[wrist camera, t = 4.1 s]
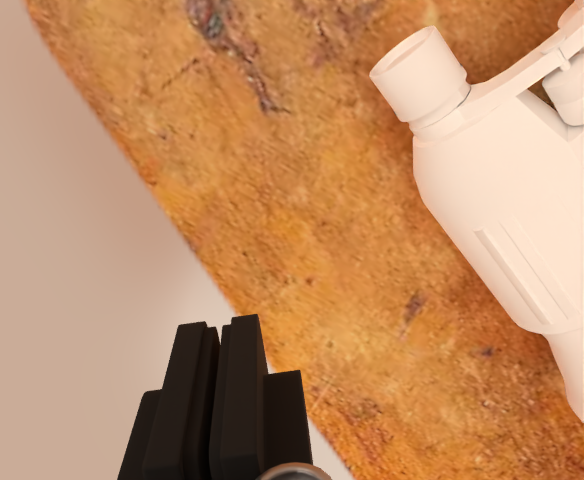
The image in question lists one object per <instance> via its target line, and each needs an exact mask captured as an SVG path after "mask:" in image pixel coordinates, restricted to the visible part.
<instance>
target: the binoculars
mask: <svg viewBox="0 0 584 480" xmlns="http://www.w3.org/2000/svg"><path fill="white" fill-rule="evenodd" d="M574 1H575V2H574V3H573V4H571V5H570V6H569V7H568V8H567V9H566V11H565V12H564V13H563V14H562V16H561V17H560V19H559V21H558V31H557V32H555V33H554V34H553V35H552V36H550V37H549V38H548V39H547V40H546V41H544V42H543V43H542V44H541V45H539V46H538V47H537V48H535V49H534V50H533V51H531V52H530V53H529V54H527V55H526V56H524V57H523V58H522V59H520V60H519V61H518V62H516V63H515V64H514V65H512V66H511V67H510V68H508V69H507V70H505V71H503V72H502V73H500V74H498V75H497V76H495V77H493V78H492V79H490V80H488V81H486V82H482V83H478V84H474V85H470V84H468V83H467V82H466V81H465V79H466V76H467V73H466V71H465V69H464V68H463V66H462V65H461V64H460V63H459V62H458V60H457V59H456V57H455V56H454V54H453V53H452V51H451V50H450V48H449V47H448V45H447V44H446V42H445V40H444V39H443V37H442V36H441V34H440V33H439V31H438V30H437V28H436V27H435V26H433V25H432V26H428V27H425V28H423V29H421V30H419V31H417V32H415V33H414V34H412V35H411V36H409V37H408V38H406V39H405V40H403V41H402V42H401V43H399V44H398V45H397V46H395V47H394V48H393V49H392V50H391V51H389V52H388V53H387V54H386V55H385V56H384V57H383V58H382V59H381V60H380V61H379V62H378V63H377V64H376V65H375V66H374V67H373V69H372V70H371V72H370V75H369V77H370V78H371V80H372V81H373V83H374V84H375V85H376V87H377V88H378V89H379V91H380V92H381V94H382V95H383V96H384V98H385V99H386V100H387V102H388V103H389V105H390V106H391V107H392V109H393V110H394V113H395V114H396V116H397V117H398V119H399V120H400V121H402V122H408V123H409V124H410V125H409V128H410V130H411V131H412V132H413V134H414V137H413V175H414V178H415V181H416V184H417V187H418V190H419V193H420V196H421V199H422V201H423V203H424V204H425V206H426V207H427V208H428V210H429V211H430V212H431V213H432V215H433V216H434V217H435V219H436V220H437V221H438V223H439V224H440V225H441V227H442V228H443V229H444V231H445V232H446V233H447V235H448V236H449V237H450V238H451V240H452V241H453V242H454V244H455V245H456V246H457V248H458V249H459V250H460V252H461V253H462V254H463V256H464V257H465V258H466V260H467V261H468V262H469V263H470V265H471V266H472V267H473V269H474V270H475V271H476V273H477V274H478V275H479V277H480V278H481V279H482V281H483V282H484V283H485V285H486V286H487V287H488V289H489V290H490V291H491V292H492V294H493V295H494V296H495V298H496V299H497V300H498V302H499V303H500V304H501V306H502V307H503V308H504V310H505V311H506V312H507V314H508V315H509V316H510V317H511V319H512V320H513V321H514V322H515V323H516V324H517V325H518V326H519V327H521V328H523V329H525V330H527V331H530V332H534V333H539V334H542V335H543V336H544V337H545V338H546V339H547V340H548V342H549V345H550V348H551V350H552V353H553V356H554V358H555V361H556V363H557V365H558V367H559V370H560V372H561V374H562V377H563V379H564V381H565V392H566V397H567V400H568V403H569V405H570V407H571V408H572V410H573V411H574V413H575V414H576V415H577V416H578V417H579V418H580V419H581V421H582V422H583V423H584V0H574ZM544 76H545V78H544V80H543V82H542V86H543V87H544V89H545V91H546V93H547V94H548V96H549V98H550V99H551V101H552V102H554V106H555V108H556V109H557V111H558V112H557V111H556V110H554V109H553V108H552V107H550V106H549V105H548V104H546V103H545V102H544V101H543V100H541V99H540V98H539V97H537V96H536V95H535V94H533V93H532V92H531V91H529V90H528V89H527V88H528V87H530V86H531V85H533V84H534V83H536V82H537V81H538V80H540V79H541V78H543V77H544Z"/></svg>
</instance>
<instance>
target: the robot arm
mask: <svg viewBox="0 0 584 480" xmlns="http://www.w3.org/2000/svg"><path fill="white" fill-rule="evenodd" d="M117 480H332V479H331V477H330V476H329V475H328V474H327V473H325V472H324V471H323V470H322V469H321V468H318V467H316V466H313V460H312V452H311V444H310V436H309V428H308V421H307V413H306V406H305V399H304V392H303V385H302V379H301V372H300V370H295V371H288V372H281V373H273V374H268V368H267V363H266V357H265V351H264V345H263V339H262V334H261V328H260V322H259V317H258V314H253V315H246V316H238V317H232V320H231V324H230V325H223V327H222V336H221V345H220V341H219V337H218V332H217V329H216V327H209V328H208V327H207V324H206V322H205V321H204V322H196V323H189V324H181V325H179V326H178V329H177V333H176V337H175V340H174V344H173V348H172V352H171V356H170V360H169V364H168V368H167V371H166V375H165V379H164V383H163V387H162V389H160V390H154V391H147V392H145V393H144V395H143V397H142V399H141V403H140V406H139V409H138V412H137V416H136V419H135V422H134V426H133V429H132V433H131V436H130V439H129V442H128V445H127V449H126V452H125V455H124V459H123V462H122V465H121V468H120V472H119V475H118V479H117Z"/></svg>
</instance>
